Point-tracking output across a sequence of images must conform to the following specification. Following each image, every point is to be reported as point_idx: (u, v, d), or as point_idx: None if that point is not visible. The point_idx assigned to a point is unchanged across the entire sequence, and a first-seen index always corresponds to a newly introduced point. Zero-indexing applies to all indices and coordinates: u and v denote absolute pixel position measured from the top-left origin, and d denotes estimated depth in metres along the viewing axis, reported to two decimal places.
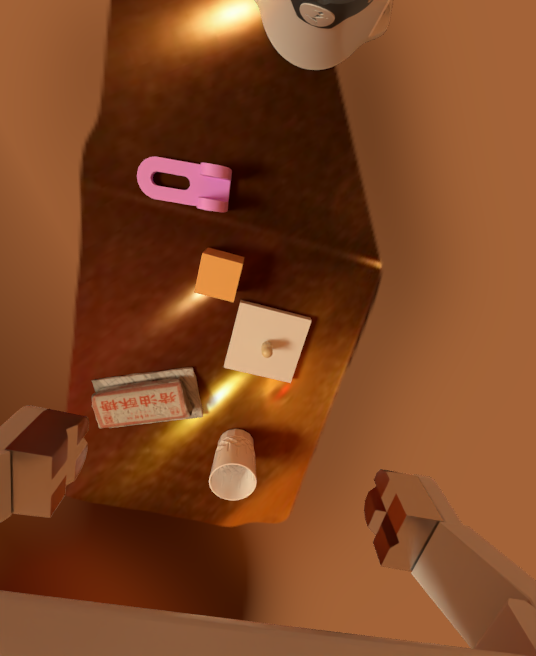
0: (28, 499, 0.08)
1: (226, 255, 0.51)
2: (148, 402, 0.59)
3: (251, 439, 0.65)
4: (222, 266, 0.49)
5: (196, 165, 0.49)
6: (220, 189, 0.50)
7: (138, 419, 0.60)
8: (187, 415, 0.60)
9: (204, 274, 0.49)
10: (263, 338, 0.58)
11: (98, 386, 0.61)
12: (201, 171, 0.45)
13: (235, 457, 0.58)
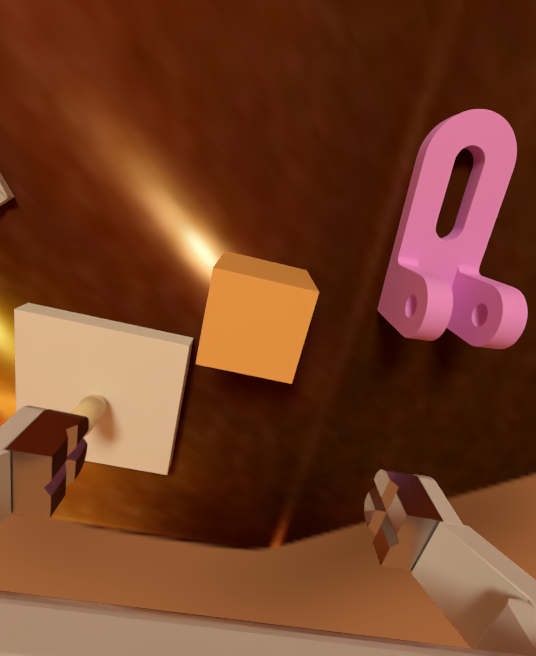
0: (28, 499, 0.08)
1: None
2: None
3: None
4: (285, 339, 0.20)
5: (479, 256, 0.23)
6: None
7: None
8: None
9: (263, 296, 0.19)
10: (110, 392, 0.26)
11: None
12: (505, 294, 0.19)
13: None
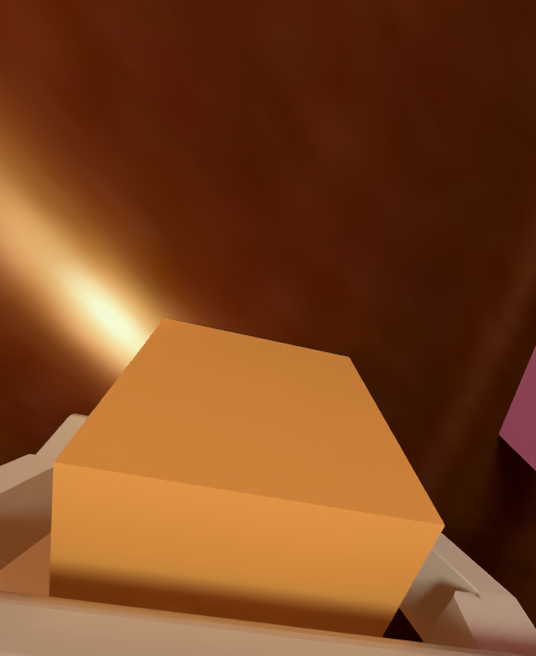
0: None
1: None
2: None
3: None
4: None
5: None
6: None
7: None
8: None
9: (250, 540, 0.05)
10: None
11: None
12: None
13: None
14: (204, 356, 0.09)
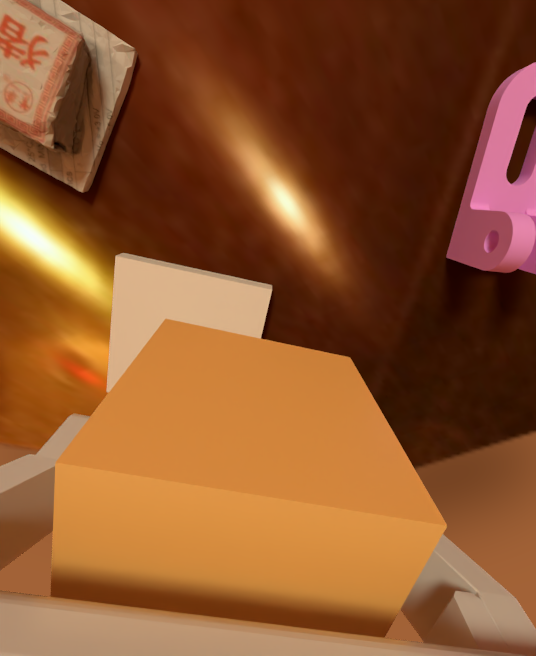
0: None
1: None
2: None
3: None
4: None
5: None
6: None
7: None
8: (45, 138, 0.21)
9: (252, 541, 0.05)
10: None
11: None
12: None
13: None
14: (205, 356, 0.09)
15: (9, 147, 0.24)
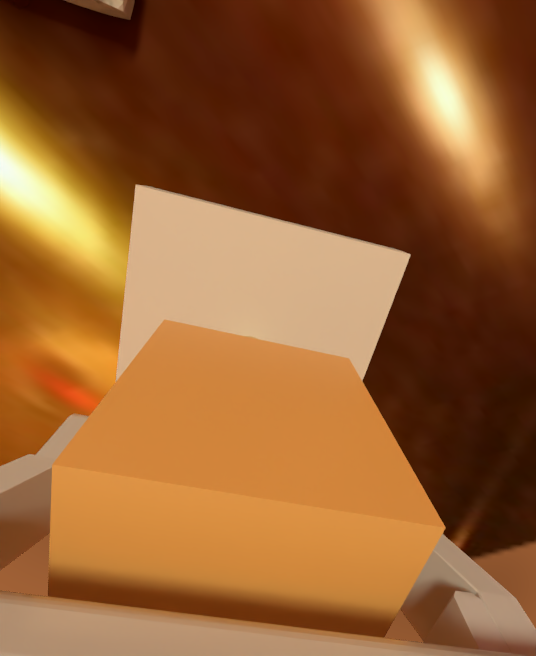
0: None
1: None
2: None
3: None
4: None
5: None
6: None
7: None
8: None
9: (250, 543, 0.05)
10: (269, 334, 0.17)
11: None
12: None
13: None
14: (204, 357, 0.09)
15: None
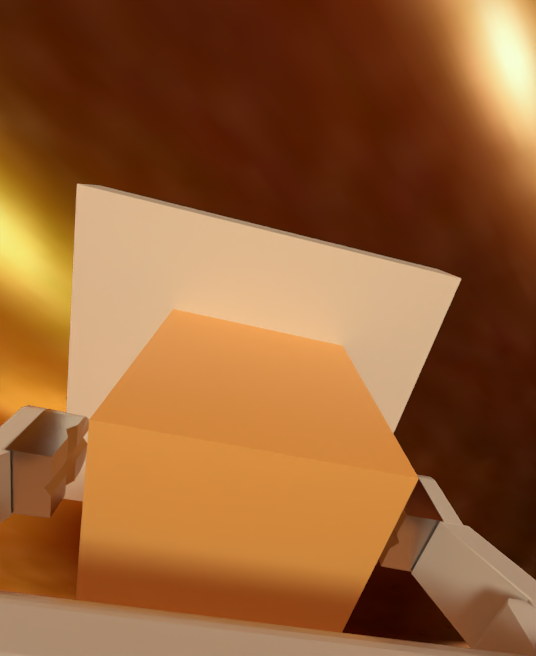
0: (28, 499, 0.08)
1: None
2: None
3: None
4: (312, 584, 0.07)
5: None
6: None
7: None
8: None
9: (253, 491, 0.06)
10: None
11: None
12: None
13: None
14: (210, 341, 0.10)
15: None
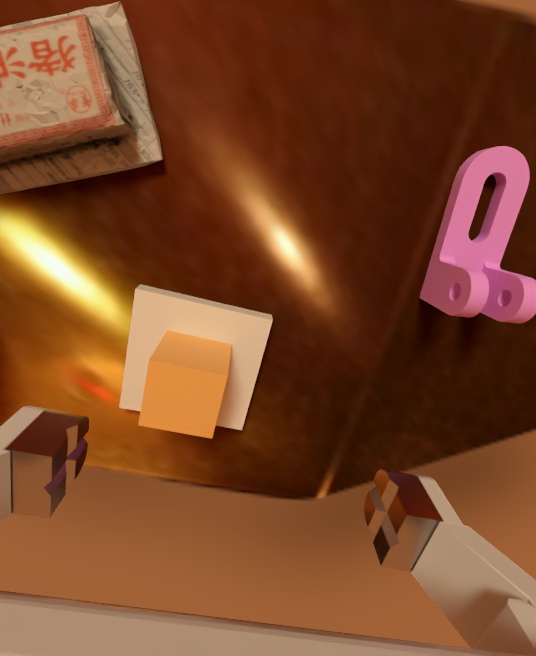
0: (28, 499, 0.08)
1: None
2: (1, 73, 0.22)
3: None
4: (205, 407, 0.27)
5: (500, 254, 0.30)
6: None
7: None
8: (114, 118, 0.23)
9: (187, 378, 0.26)
10: None
11: None
12: (525, 282, 0.26)
13: None
14: (180, 342, 0.29)
15: (93, 168, 0.26)
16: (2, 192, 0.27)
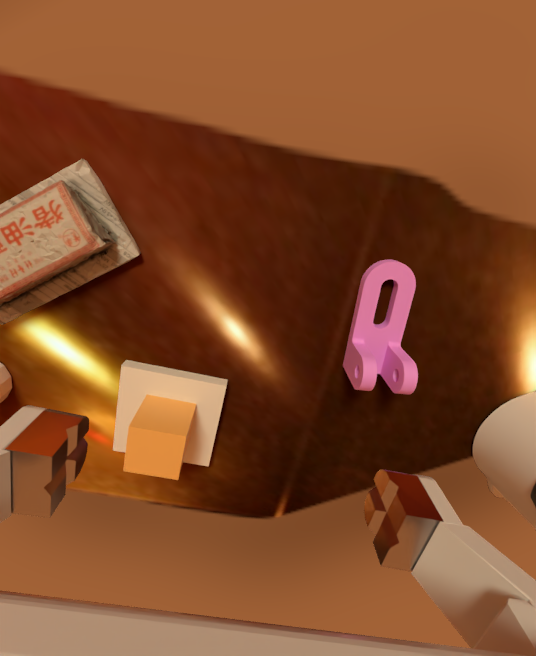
0: (28, 499, 0.08)
1: (187, 440, 0.39)
2: (19, 236, 0.31)
3: None
4: (171, 458, 0.36)
5: (400, 336, 0.39)
6: None
7: (17, 277, 0.33)
8: (98, 242, 0.32)
9: (156, 438, 0.35)
10: None
11: None
12: (406, 366, 0.35)
13: None
14: (154, 406, 0.39)
15: (93, 274, 0.36)
16: (38, 306, 0.37)
